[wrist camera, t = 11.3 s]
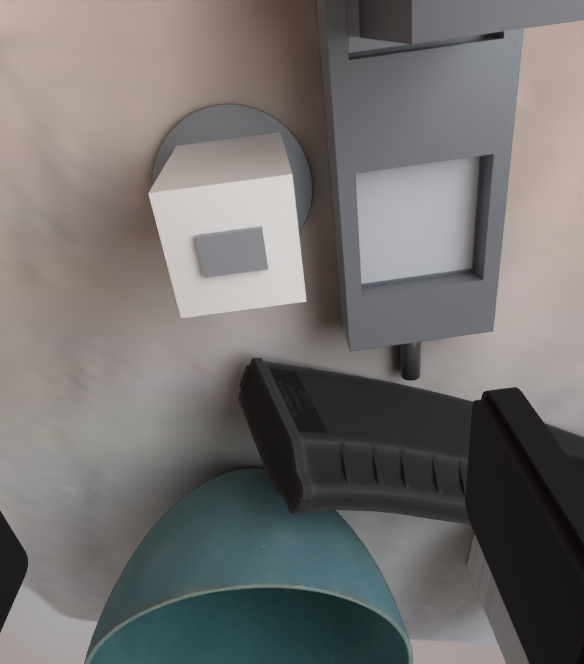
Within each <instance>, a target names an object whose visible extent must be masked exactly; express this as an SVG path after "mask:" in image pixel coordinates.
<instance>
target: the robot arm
mask: <svg viewBox="0 0 584 664" xmlns="http://www.w3.org/2000/svg"><path fill="white" fill-rule="evenodd" d="M465 506H466V511H467V515H468V518H469V521H470V524H471V526H472V528H473V531H474V533H475V535H476V538H477V540H478V543H479V545H480V547H481V550H482V552H483V555H484V557H485V559H486V562H487V564H488V566H489V569H490V571H491V574H492V576H493V578H494V581H495V583H496V586H497V588H498V590H499V593H500V595H501V597H502V600H503V602H504V605H505V607H506V609H507V612H508V614H509V617H510V619H511V621H512V624H513V626H514V628H515V631H516V633H517V636H518V638H519V640H520V643H521V645H522V648H523V650H524V652H525V655H526V657H527V659H528V662H529V664H584V460H583V459H582V458H580V457H578V456H576V455H568V456H567V455H566V453H565V452H564V450H563V449H562V448H561V446H560V445H559V443H558V442H557V441H556V439H555V438H554V436H553V435H552V434H551V432H550V431H549V429H548V428H547V427H546V425H545V424H544V422H543V421H542V420H541V418H540V417H539V415H538V414H537V413H536V411H535V410H534V408H533V407H532V406H531V404H530V403H529V401H528V400H527V399H526V397H525V396H524V394H523V393H522V392H521V391H520V390H519V389H518V388H516V387H514V388H506V389H498V390H490V391H485V392H483V394H482V398H481V400H475V401H474V402H473V406H472V417H471V430H470V443H469V456H468V469H467V481H466V494H465ZM27 567H28V557H27V554H26V552H25V550H24V549H23V547H22V545H21V544H20V542H19V540H18V539H17V537H16V536H15V534H14V532H13V531H12V529H11V527H10V526H9V524H8V523H7V521H6V519H5V518H4V516H3V514H2V513H1V511H0V632H1V630H2V627H3V625H4V623H5V620H6V618H7V616H8V613H9V611H10V609H11V607H12V604H13V602H14V600H15V598H16V595H17V593H18V591H19V588H20V586H21V584H22V582H23V579H24V577H25V575H26V572H27Z"/></svg>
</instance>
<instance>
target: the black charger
mask: <svg viewBox="0 0 584 664" xmlns="http://www.w3.org/2000/svg"><path fill="white" fill-rule="evenodd" d="M358 6H359V29H360V38H366V39H374V40H382V41H390V42H398V43H405V44H418V43H425V42H432V41H439V40H446V39H453V38H460V37H467V36H474V35H481V34H488V33H495V32H502V31H509V30H516V29H523V28H530V27H538V26H545V25H552V24H559V23H566V22H573V21H580V20H584V0H358Z"/></svg>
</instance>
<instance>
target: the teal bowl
mask: <svg viewBox="0 0 584 664" xmlns="http://www.w3.org/2000/svg"><path fill="white" fill-rule="evenodd" d="M84 664H413V653H412V648H411V644H410V641H409V638H408V634H407V631H406V628H405V626H404V623H403V620H402V617H401V615H400V612H399V610H398V607H397V605H396V602H395V600H394V598H393V596H392V593H391V591H390V589H389V587H388V585H387V583H386V581H385V579H384V577H383V575H382V573H381V571H380V570H379V568H378V566H377V564H376V563H375V561H374V559H373V558H372V556H371V554H370V553H369V551H368V550H367V548H366V547H365V545H364V544H363V543H362V541H361V540H360V538H359V537H358V536H357V534H356V533H355V532H354V530H353V529H352V528H351V527H350V525H349V524H348V523H347V522H346V521H345V520H344V519H343V518H342V516H341V515H340V514H339V513H338V512H337V511H336V510H326V511H307V512H303V514H292V513H290V512H289V509H288V507H287V504H286V502H285V499H284V498H283V497H282V496H281V495H280V494H279V493H278V492H276V491H275V490H274V488H273V487H272V485H271V483H270V480H269V478H268V475H267V473H266V470H265V469H256V468H254V469H239V470H234V471H230V472H227V473H224V474H221V475H218V476H216V477H214V478H212V479H210V480H208V481H207V482H205V483H203V484H202V485H200V486H199V487H197V488H196V489H194V490H193V491H191V492H190V493H189V494H187V495H186V496H185V497H183V498H182V499H181V500H180V501H179V502H178V503H176V504H175V505H174V506H173V507H172V508H171V509H170V510H168V511H167V512H166V513H165V514H164V515H163V516H162V518H161V519H160V520H159V521H158V522H157V523H156V524H155V525H154V527H153V528H152V529H151V530H150V531H149V533H148V534H147V535H146V537H145V538H144V539H143V541H142V542H141V544H140V545H139V546H138V548H137V549H136V551H135V552H134V554H133V555H132V557H131V558H130V560H129V562H128V563H127V565H126V566H125V568H124V570H123V572H122V573H121V575H120V577H119V579H118V581H117V582H116V584H115V586H114V588H113V590H112V592H111V594H110V596H109V598H108V600H107V603H106V605H105V607H104V609H103V612H102V614H101V616H100V619H99V621H98V624H97V626H96V629H95V631H94V634H93V637H92V640H91V643H90V646H89V649H88V652H87V655H86V659H85V663H84Z"/></svg>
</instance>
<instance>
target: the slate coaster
mask: <svg viewBox="0 0 584 664" xmlns="http://www.w3.org/2000/svg"><path fill="white" fill-rule="evenodd" d="M276 132H280V133H281V136H282V139H283V143H284V146H285V150H286V153H287V157H288V160H289V164H290V167H291V171H292V174H293V184H294V193H295V202H296V211H297V220H298V229H299V231H300V230H301V228H302V226H303V224H304V222H305V220H306V218H307V215H308V212H309V209H310V205H311V199H312V178H311V172H310V168H309V165H308V161H307V159H306V156H305V154H304V152H303V150H302V148H301V146H300V144H299V143H298V141H297V139H296V138H295V137H294V136H293V134H292V133H291V132H290V131H289V130H288V129H287V128H286V127H285V126H284V125H283V124H282V123H281V122H280V121H278V120H277V119H275V118H274V117H273V116H271V115H269V114H267V113H265V112H263V111H261V110H259V109H256V108H253V107H249V106H245V105H239V104H219V105H214V106H209V107H206V108H203V109H201V110H198V111H196V112H194V113H192V114H190V115H189V116H187V117H186V118H184V119H183V120H182V121H181V122H179V123H178V124H177V125H176V126H175V127H174V128H173V129H172V130H171V132H170V133H169V135H168V136H167V137H166V139H165V140H164V141H163V143H162V145H161V147H160V149H159V151H158V154H157V156H156V159H155V163H154V168H153V174H152V186H153V185H154V183H155V181H156V180H157V178H158V176H159V174H160V173H161V171H162V169H163V168H164V166H165V164H166V163H167V161H168V159H169V158H170V156H171V154H172V153H173V151H174V149H175V148H176V146H178V145H186V144H193V143H201V142H208V141H216V140H224V139H231V138H239V137H246V136H254V135H261V134H269V133H276Z"/></svg>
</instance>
